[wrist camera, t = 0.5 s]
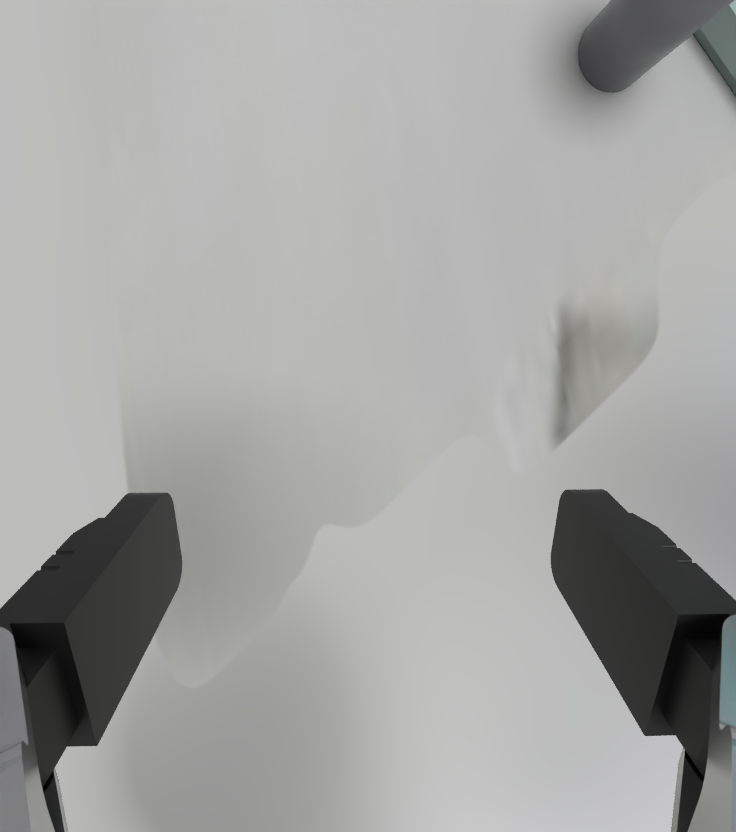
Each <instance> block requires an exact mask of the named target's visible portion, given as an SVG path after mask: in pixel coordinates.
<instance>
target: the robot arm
mask: <svg viewBox="0 0 736 832" xmlns="http://www.w3.org/2000/svg"><path fill="white" fill-rule="evenodd" d="M551 568H552V573H553V577H554V580H555V583H556V585H557V587H558V589H559V590H560V592H561V594H562V595H563V597H564V599H565V600H566V602H567V604H568V606H569V607H570V609H571V611H572V612H573V614H574V616H575V617H576V619H577V621H578V623H579V624H580V626H581V628H582V630H583V631H584V633H585V635H586V636H587V638H588V640H589V641H590V643H591V645H592V647H593V648H594V650H595V652H596V653H597V655H598V657H599V658H600V660H601V662H602V664H603V665H604V667H605V669H606V670H607V672H608V674H609V676H610V677H611V679H612V681H613V682H614V684H615V686H616V688H617V689H618V691H619V693H620V694H621V696H622V698H623V699H624V701H625V703H626V705H627V706H628V708H629V710H630V711H631V713H632V715H633V717H634V718H635V720H636V722H637V723H638V725H639V727H640V728H641V730H642V732H643V734H644V735H645V736H657V735H658V736H660V735H676V736H677V738H678V739H679V741H680V743H681V744H682V745H683V751H682V753H681V757H680V760H679V764H678V774H677V782H676V791H675V801H674V809H673V819H672V827H671V832H736V600H734V599H733V598H732V597H731V596H730V595H729V594H728V593H727V592H726V591H725V590H724V589H723V588H722V587H721V586H720V585H719V584H717V583H716V582H715V581H714V580H713V579H712V578H711V577H710V576H709V575H708V574H707V573H706V572H704V570H703V569H702V568H701V567H699V566H698V565H697V564H696V563H692V559H691V558H690V557H689V556H688V555H687V554H686V553H685V552H683V551H682V550H681V549H680V548H677V547H676V544H675V543H674V542H673V541H672V540H671V539H670V538H668V536H667V535H666V534H664V533H663V532H662V531H661V530H660V529H659V528H658V527H656V526H654V525H653V524H651V523H649V522H647V521H646V520H644V519H642V518H640V517H638V516H637V515H635V514H633V513H628V512H627V511H626V510H625V509H624V508H623V507H622V506H621V505H620V504H619V503H618V502H617V501H616V500H615V499H614V498H613V497H612V496H611V495H610V494H609V493H608V492H607V491H605V490H602V489H600V490H599V489H596V490H595V489H594V490H565V491H564V492H563V493H562V495H561V498H560V501H559V507H558V513H557V520H556V526H555V533H554V538H553V545H552V551H551ZM181 572H182V556H181V550H180V543H179V537H178V530H177V524H176V517H175V511H174V504H173V500H172V498H171V496H170V494H168V493H128V494H126V495H125V496H124V497H123V498H122V499H121V501H120V502H119V503H118V504H117V505H116V506H115V507H114V509H112V511H111V512H110V513H109V514H108V515H107V516H106V517H105V518H98V519H96V520H95V521H93V522H92V523H90V524H88V525H86V526H85V527H83V528H82V529H80V530H78V531H76V532H75V533H73V534H72V535H71V536H70V537H69V538H68V539H67V540H66V541H65V542H64V543H63V545H62V546H61V547H60V548H59V549H58V550H57V551H56V555H52V556H51V557H50V558H49V559H48V560H47V561H46V562H45V563H44V564H43V565H42V566H41V570H40V571H36V572H35V573H34V574H33V576H32V577H31V578H30V579H29V580H28V581H27V582H26V583H25V584H24V585H23V586H22V587H21V588H20V589H19V590H18V591H17V592H16V593H15V594H14V595H13V596H12V597H11V598H10V599H9V600H8V601H7V602H6V603H5V604H4V605H3V607H2V608H1V609H0V832H68V828H67V823H66V818H65V812H64V807H63V802H62V796H61V791H60V786H59V780H58V776H57V773H56V770H55V766H56V764H57V763H58V761H59V759H60V757H61V756H62V754H63V752H64V750H65V749H66V747H67V746H97V745H98V743H99V741H100V739H101V737H102V735H103V733H104V731H105V729H106V728H107V725H108V723H109V722H110V720H111V718H112V716H113V714H114V712H115V710H116V708H117V706H118V704H119V702H120V700H121V698H122V696H123V694H124V692H125V690H126V688H127V687H128V685H129V683H130V681H131V679H132V677H133V675H134V673H135V671H136V669H137V667H138V665H139V663H140V661H141V659H142V657H143V655H144V653H145V651H146V649H147V647H148V645H149V644H150V641H151V640H152V638H153V636H154V634H155V632H156V630H157V628H158V626H159V624H160V622H161V620H162V618H163V616H164V614H165V612H166V610H167V608H168V606H169V604H170V603H171V601H172V599H173V597H174V595H175V593H176V591H177V588H178V586H179V582H180V578H181Z"/></svg>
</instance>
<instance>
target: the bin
mask: <svg viewBox="0 0 736 832" xmlns="http://www.w3.org/2000/svg"><path fill="white" fill-rule="evenodd" d="M694 36H695V37H696V38H697V40H698V41H699V43H700V44H701V46H702V47H703V49H704V50H705V51H706V53H707V54H708V56H709V57H710V59H711V60H712V62H713V63H714V65H715V66H716V67H717V69H718V70H719V72H720V73H721V75H722V76H723V78H724V79H725V80H726V82H727V83H728V85H729V86H730V88H731V89H732V91H733V92H734V94H735V95H736V0H734V1H733V2H732V3H731V4H729V5H728V6H727V7H726V8H725V9H723V10H722V11H721V12H720V13H718V14H717V15H716V16H715V17H713V18H712V19H711V20H710V21H709V22H707V23H706V24H705V25H704V26H702V27H701V28H700V29H699V30H697V31H696V32H695V33H694Z"/></svg>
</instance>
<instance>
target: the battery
mask: <svg viewBox="0 0 736 832" xmlns="http://www.w3.org/2000/svg"><path fill="white" fill-rule="evenodd" d="M733 1H734V0H611V1H610V2H609V3H608V4H607V5H606V7H605V8H604V9H603V10H602V11H601V12H600V13H599V15H598V16H597V17H596V18H595V19H594V20H593V21H592V23H591V24H590V25H589V26H588V27H587V29H586V30H585V32H584V33H583V35H582V38H581V41H580V44H579V54H578V55H579V63H580V67H581V70H582V72H583V75H584V76H585V78H586V79H587V80H588V82H589V83H590V84H591V85H592V86H594V87H595V88H597V89H599V90H601V91H605V92H617V91H621V90H623V89H625V88H627V87H628V86H630V85H631V84H632V83H633V82H635V81H636V80H637V79H638V78H639V77H641V76H642V75H643V74H644V73H646V72H647V71H648V70H649V69H651V68H652V67H653V66H654V65H655V64H657V63H658V62H659V61H660V60H662V59H663V58H664V57H665V56H667V55H668V54H669V53H670V52H672V51H673V50H674V49H675V48H676V47H678V46H679V45H680V44H681V43H683V42H684V41H685V40H686V39H688V38H689V37H690V36H691V35H692V34H694V33H695V32H696V31H697V30H699V29H700V28H701V27H702V26H704V25H705V24H706V23H707V22H709V21H710V20H711V19H712V18H713V17H715V16H716V15H717V14H718V13H720V12H721V11H722V10H723V9H725V8H726V7H727V6H728V5H729V4H731V3H732V2H733Z"/></svg>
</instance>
